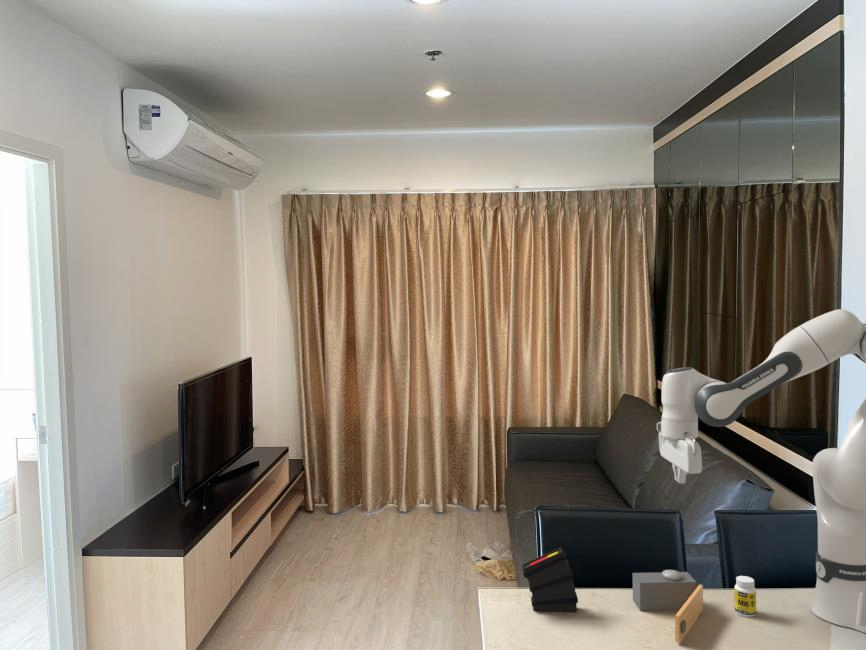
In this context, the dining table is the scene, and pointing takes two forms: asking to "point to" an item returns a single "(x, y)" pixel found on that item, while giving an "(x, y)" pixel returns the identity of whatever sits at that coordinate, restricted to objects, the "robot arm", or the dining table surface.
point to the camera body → (662, 590)
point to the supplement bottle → (745, 596)
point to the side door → (688, 613)
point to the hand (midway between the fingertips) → (680, 482)
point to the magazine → (551, 583)
